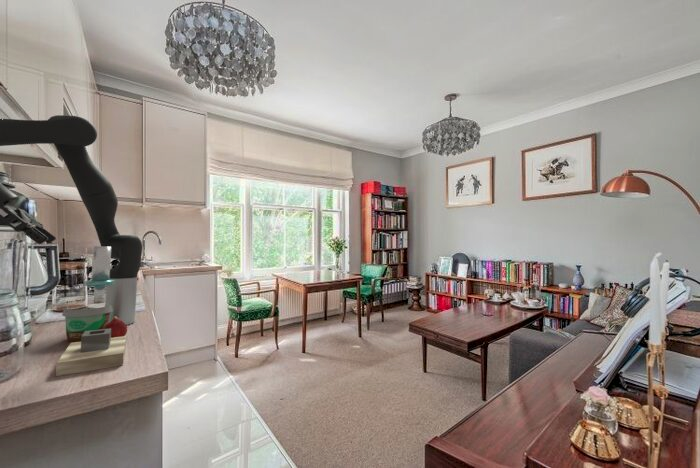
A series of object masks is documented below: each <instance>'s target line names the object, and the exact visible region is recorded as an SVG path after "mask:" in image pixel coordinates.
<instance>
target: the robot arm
mask: <svg viewBox="0 0 700 468" xmlns="http://www.w3.org/2000/svg"><path fill="white" fill-rule="evenodd" d="M2 119H3V120H2ZM97 137H98V132H97V129H96V126H94V124H93V123H91V121H89V120H87V119H86V118H84V117H81V116H78V115H64V114H62V115H59V114H58V115H53V116H51V117H49V118H48V119H46V120H45V119H44V120H43V119H40V120H37V119H35V120H34V119H32V120H31V119H14V118H1V119H0V147H5V146H6V147H7V146H21V145H35V144H41V145H42V144H43V145H45V144H47V145H48V144H53V146H54V147H55V148H56V151H57V152H58V154H59V155H60V157H61V159H62V160H63V161H64V164H65V165H66V166H65V167H66V168H67V171H68V172H69V175H70V177H71V178H72V181H73V183H74V185H75V187H76V190H77V192H78V194H79V196H80V198H81V200H82V203H83V205H84V206H85V208H86V211H87V213H88V215H89V217H90V219H91V223H93V226H94V229H95V232H96V235H97V238H98V242H99V243H100V246H104V247H111V260H112V259H114V260H119V262H118V264H117V266H115V267H113V268H110V277H109V279H112V280H115V284H113V285H106V287H105V302H104V307H106V306H110V305H111V307H112V310H113V311H112V312H110V315H109V320H108V323H109V322H111V321H112V320H113V319H114V317H115V316H116V317H117V318H118V319H119V320H122V321H123V322H124V323H125V324H126V326H127V325H131V324H134V323H135V321H136V320H135V319H136V309H137V308H136V306H137V292H138V289H137V288H138V273H139V271H140V269H141V263H142V256H143V255H142V254H143V243H142V240H141V239H140V237H138V236H137V235H133V234H132V235H131V234H129V235H128V234H127V235H126V234H121V233H120V232H119V230H118V229H117V226H116V223H115V216H116V213H117V209H118V204H119V202H118V200H119V199H118V197H117V194H116V191H115V189H114V188H113V185H112V183H111V181H110V180H109V179H108V177H106V175H105V173H103V172H102V171H101V170H100V168H99V167H98V166H97V165H96V164H95V163H94V161H93V160H92V158H91V157H90V155H89V152H88V149H87V147H89V146H91V145H92V144H94V143H95V142H96V141H97ZM19 201H20V197H19V196H18V195H17V194H15V193H14V192H13V191H11V189H9V188H7V187H6V186H5V185H4V184H3V183H1V182H0V220H1V221H2V222H4V223H5V224H6V225H7V226H9V227H10V228H12V229H13V230H14V231H15V232H17V233H20V234H23V235H25V236H27V237H28V238H29V239H31V240H32V241H33V242H35V243H36V244H38V245H43V243H47V244H51V243H53V242H54V241H56V240H57V237H56V236H55V235H53V234H52V233H50V231H48V230H47V229H46V228H45V227H44V224H43V223H41V222H39V221H38V220H37V219H36V218H35V217H33V216H31V215H30V214H29V213H28V212H27V211H25V209H22V208H20V207H19V208H16V207H15V204H17V203H18V202H19Z"/></svg>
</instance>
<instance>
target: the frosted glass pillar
mask: <svg viewBox="0 0 700 468" xmlns="http://www.w3.org/2000/svg"><path fill="white" fill-rule="evenodd" d="M111 260H112V259H111V247H104V246H101V245H99V246H97V245H96V246H95V245H94V246H93V252H92V265H91V266H92V267H91V279H90V280H89V279H87V280H85V281H84V286H85V287H88V286H89V287H93V288H94V289H93V291H94V292H93V304H97V305H98V304H105V296H106V285H113V284H115V280H112V279H109V277H110V269H111Z"/></svg>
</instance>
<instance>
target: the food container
mask: <svg viewBox="0 0 700 468" xmlns="http://www.w3.org/2000/svg"><path fill="white" fill-rule="evenodd" d="M67 307H68V306H66V307H64V309H63V311H62V314H61V315H62V317H64V319H65V334H66V335H65V336H66V342H67V343H74V342H81V337H82V335H83V333H84V332H85V331H91V330H100V329H104V327H105V326H106V325H107V324H108V320H109V315H110V312H112V311H113V310H112V307H111V305H110V306H106V307H105V306H102V307H85V308H84V307H83V308H77V309H75V308H74V309H70V308H67Z"/></svg>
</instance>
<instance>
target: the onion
mask: <svg viewBox="0 0 700 468" xmlns="http://www.w3.org/2000/svg"><path fill="white" fill-rule="evenodd" d="M109 328H111V338H115V337H123V336H126V335H127V333H128V326H127V325H126V324H125V323H124V322H123V321H122V320H119V319H118V318H117V317H116V316H115V317H114V319H113V320H112V321H111V322H109V323H108V324H107V325H106V326H105V327H104V329H109Z"/></svg>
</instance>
